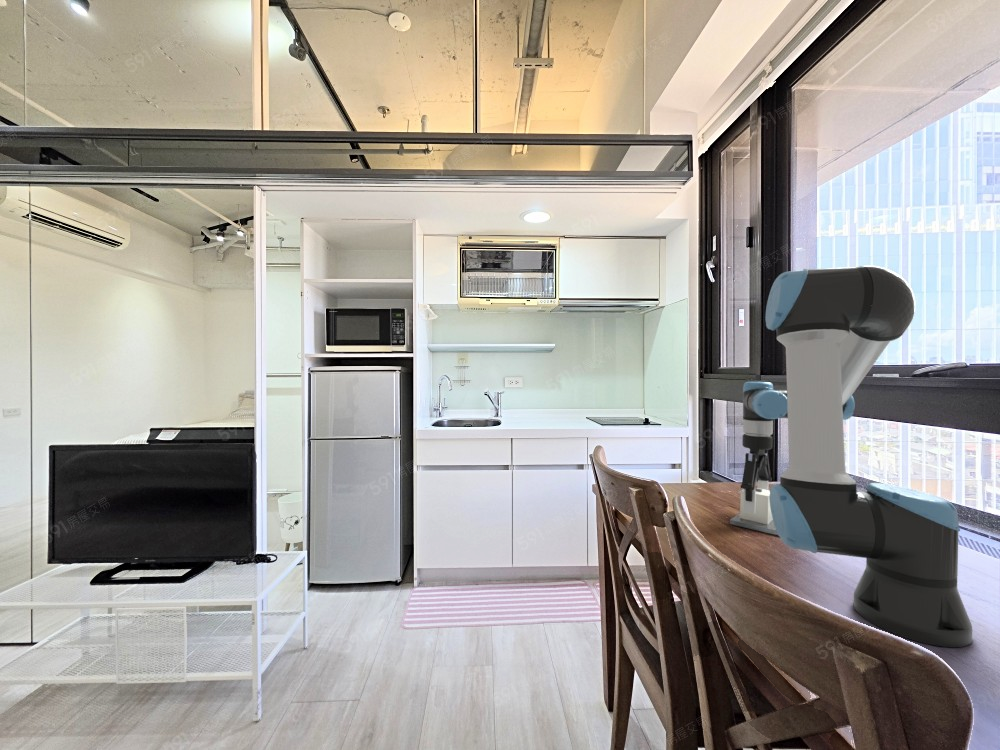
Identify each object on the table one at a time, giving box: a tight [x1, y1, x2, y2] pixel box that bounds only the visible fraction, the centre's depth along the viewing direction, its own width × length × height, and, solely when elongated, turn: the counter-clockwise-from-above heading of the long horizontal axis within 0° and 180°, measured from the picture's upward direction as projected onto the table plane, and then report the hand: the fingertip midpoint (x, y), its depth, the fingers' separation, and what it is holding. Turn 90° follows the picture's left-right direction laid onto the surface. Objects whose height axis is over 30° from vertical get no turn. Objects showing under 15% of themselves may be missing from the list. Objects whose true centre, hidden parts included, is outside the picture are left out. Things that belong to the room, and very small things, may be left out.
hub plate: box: [729, 512, 780, 537], centre depth 123 cm, size 14×14×5 cm
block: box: [739, 487, 773, 525], centre depth 124 cm, size 8×7×9 cm
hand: (756, 507), depth 124 cm, fingers open, 13 cm apart
